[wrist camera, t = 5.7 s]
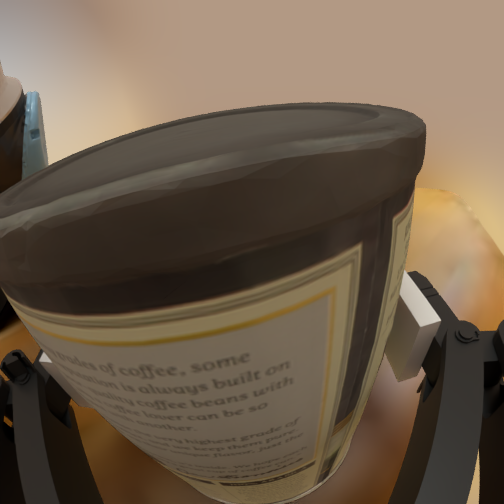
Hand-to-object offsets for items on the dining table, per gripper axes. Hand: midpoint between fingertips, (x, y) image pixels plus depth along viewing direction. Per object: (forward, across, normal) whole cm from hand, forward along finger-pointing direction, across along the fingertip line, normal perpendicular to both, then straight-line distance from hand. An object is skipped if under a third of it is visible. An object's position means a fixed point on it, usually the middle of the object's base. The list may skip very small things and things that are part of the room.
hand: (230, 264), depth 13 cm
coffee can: (-4, 0, -8) cm, 9 cm away
